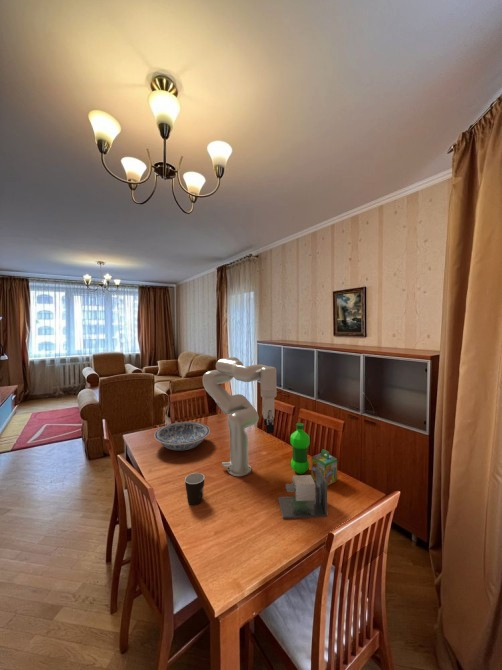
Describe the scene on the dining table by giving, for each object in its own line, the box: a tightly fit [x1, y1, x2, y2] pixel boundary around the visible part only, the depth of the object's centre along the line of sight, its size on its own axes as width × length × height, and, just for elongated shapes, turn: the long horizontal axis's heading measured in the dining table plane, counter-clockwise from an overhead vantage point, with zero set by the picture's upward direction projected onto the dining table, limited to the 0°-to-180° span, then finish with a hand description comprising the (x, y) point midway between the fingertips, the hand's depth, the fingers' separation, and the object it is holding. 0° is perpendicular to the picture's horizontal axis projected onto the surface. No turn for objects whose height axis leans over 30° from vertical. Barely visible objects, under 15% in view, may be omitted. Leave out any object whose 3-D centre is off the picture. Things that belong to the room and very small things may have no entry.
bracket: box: [277, 467, 328, 520], centre depth 113 cm, size 18×12×14 cm, turn 93°
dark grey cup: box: [184, 472, 205, 506], centre depth 120 cm, size 12×9×10 cm
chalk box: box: [310, 448, 338, 487], centre depth 133 cm, size 9×9×15 cm
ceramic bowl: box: [153, 421, 211, 452], centre depth 172 cm, size 34×34×10 cm
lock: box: [292, 474, 316, 501], centre depth 113 cm, size 8×6×7 cm
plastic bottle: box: [289, 422, 311, 475], centre depth 141 cm, size 10×10×25 cm
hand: (268, 428), depth 127 cm, fingers open, 9 cm apart
